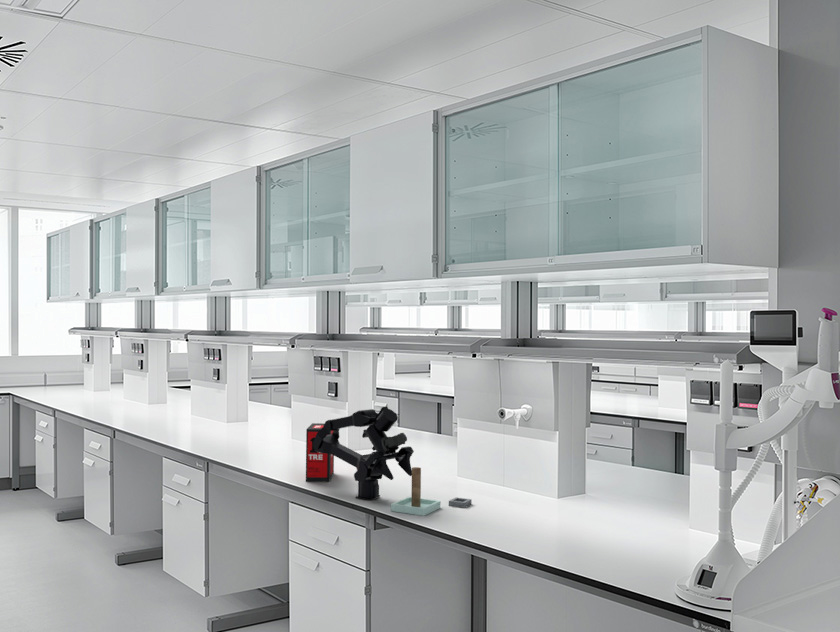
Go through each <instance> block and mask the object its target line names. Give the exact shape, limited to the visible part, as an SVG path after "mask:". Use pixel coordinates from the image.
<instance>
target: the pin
mask: <svg viewBox="0 0 840 632" xmlns="http://www.w3.org/2000/svg"><path fill="white" fill-rule="evenodd" d="M411 470H412V476H411V496H410V497H411V506H413V507H420V506H421V499H422V498H421V496H422V495H421V494H422V493H421V492H422V491H421V490H422V488H421V487H422V485H421V484H422V467H418V466H415V467H413V466H412V467H411Z"/></svg>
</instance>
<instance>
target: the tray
mask: <svg viewBox="0 0 840 632" xmlns="http://www.w3.org/2000/svg"><path fill="white" fill-rule="evenodd" d="M439 509H441V500H436V499H435V500H434V499H428V498H421V506H420V507H413V506H411V496H407V497H405V498H402V499H400V500H397V501H395V502H392V503H391V504H390V512H397V513H401V514H402V513H404V514H410V515H416V516H423V517H424V516H426V515H428V514H430V513H432V512H434V511H436V510H439Z"/></svg>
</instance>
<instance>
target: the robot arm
mask: <svg viewBox="0 0 840 632" xmlns="http://www.w3.org/2000/svg"><path fill="white" fill-rule="evenodd" d="M398 419H399V417H398V413H396V412H395V411H394V410H392V409H390V408H388V406H382V407H381V408H380V410H379V411H378V412H376V410H375V409H371V408H370V409H362V410H356V411H355V412H353V413H352V414H350V415H349V416H344V417H338V418H333V419H327V420H326V421H325V422H324V423H323V424H324V426H323V427H322V428H321V429H320V430H319V432H318V433H317V434H316V437H315V439H314V441H313V447H314V449H315V451H317V452H320V453H326V454H332V455H334V457H335V458H338V459H339V460H342V461H343V462H345V463H347V464H349V465H351V466H353V467H355V468H356V471H355V472H354V474H353V478H354V481H355V482H358V483H357V495H356V496H355V499H361V500H368V501H372V500H375V499H378V498H380V497H381V494H380V484H379V480H382V478H383V476H384V477H386V478H387V479H388V480H390V481H393V480H394V476H393V473H392V472H391V469H390V467H389V466H388V464H387V461H389V460H395V461H396V462H397V465H398V466H399V467H400V468H401V469H402V470H403V471H404V472H405V473H406V474H407V475H408V476H409V477H412V466H411V457H413V453H414V452H415V450H414V449H413V447H412V446H402V445H405V444H406V442H408V436H407V435H406V434H405V432H400V433H398V434H395V435H393V436H388V435H387V434H386V433H385V432H389V430H391V429H392V427H393V426H394V425H395V424H396V422H398ZM350 427H354V428H355V427H359V428H363V427H364V428H365V427H367V428H366V429H363V432H362V438H364V439H365V438H368V439H369V441H370V442H371V444H372V447H371V450H372V451H371V453H369V454H368V453H367V454H361V453H358V452H357V451H354V450H353V449H351V448H349V447H347V446H345V445H343V444H341V443H340V441H339V439H340V429H345V428H350ZM332 430H333V433H332V435H328V434H329V432H330V431H332ZM400 446H402V447H400ZM398 449H399V450H398Z"/></svg>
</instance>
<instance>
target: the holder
mask: <svg viewBox="0 0 840 632" xmlns="http://www.w3.org/2000/svg"><path fill="white" fill-rule="evenodd" d="M470 505H472V499H471V498H463V497H453V498H451V499H449V500H448V506H449V507H456V508H463V509H465V508H467V507H469V506H470Z"/></svg>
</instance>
